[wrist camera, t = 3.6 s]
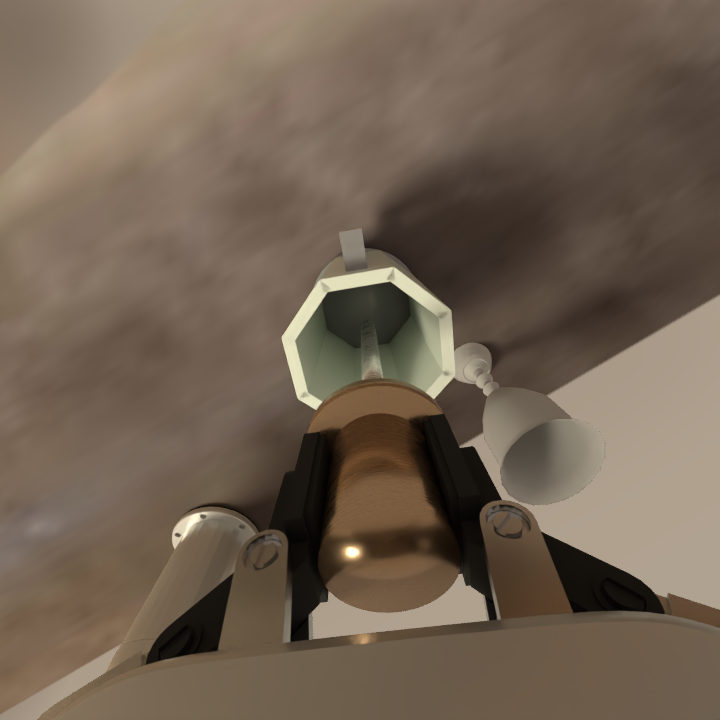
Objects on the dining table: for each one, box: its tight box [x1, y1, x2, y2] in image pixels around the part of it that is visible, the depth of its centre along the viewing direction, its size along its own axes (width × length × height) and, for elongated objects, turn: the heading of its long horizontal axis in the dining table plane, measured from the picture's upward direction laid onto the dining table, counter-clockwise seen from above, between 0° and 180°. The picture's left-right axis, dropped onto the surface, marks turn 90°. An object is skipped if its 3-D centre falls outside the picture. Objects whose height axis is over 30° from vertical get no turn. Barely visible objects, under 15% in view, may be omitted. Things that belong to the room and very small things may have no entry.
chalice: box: [454, 343, 605, 505], centre depth 31 cm, size 7×7×18 cm
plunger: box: [307, 320, 461, 612], centre depth 18 cm, size 6×6×21 cm
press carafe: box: [282, 227, 455, 410], centre depth 29 cm, size 14×12×16 cm
